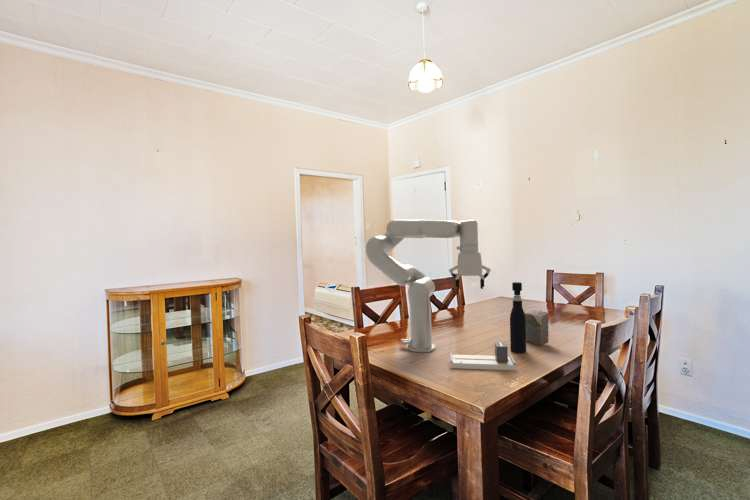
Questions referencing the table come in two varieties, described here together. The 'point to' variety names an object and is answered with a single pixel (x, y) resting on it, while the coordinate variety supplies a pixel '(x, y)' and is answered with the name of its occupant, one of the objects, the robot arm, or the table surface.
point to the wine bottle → (517, 322)
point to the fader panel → (481, 362)
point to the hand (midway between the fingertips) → (470, 288)
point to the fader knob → (501, 352)
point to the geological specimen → (537, 326)
